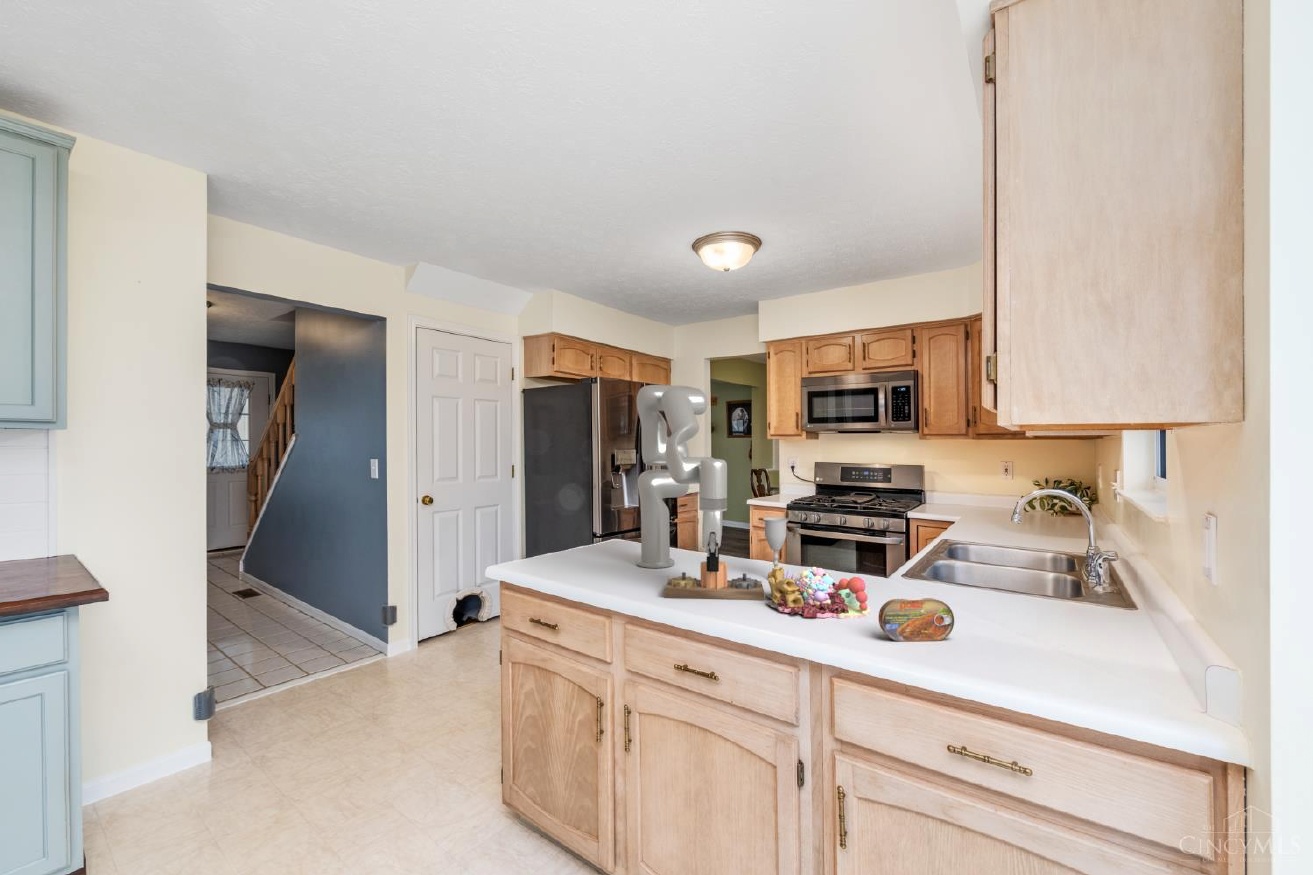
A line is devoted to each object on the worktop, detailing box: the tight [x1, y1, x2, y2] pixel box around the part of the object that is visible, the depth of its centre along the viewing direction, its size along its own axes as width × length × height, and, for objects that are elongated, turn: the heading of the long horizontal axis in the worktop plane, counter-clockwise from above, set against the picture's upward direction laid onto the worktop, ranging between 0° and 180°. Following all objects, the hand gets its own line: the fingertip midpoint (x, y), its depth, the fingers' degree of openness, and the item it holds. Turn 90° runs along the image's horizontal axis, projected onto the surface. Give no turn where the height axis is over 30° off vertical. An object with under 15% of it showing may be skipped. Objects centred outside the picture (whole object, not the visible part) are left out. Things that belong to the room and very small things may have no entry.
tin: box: [877, 597, 955, 643], centre depth 118 cm, size 15×3×8 cm, turn 91°
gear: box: [700, 560, 728, 589], centre depth 155 cm, size 7×7×6 cm
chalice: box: [762, 516, 789, 581], centre depth 168 cm, size 7×7×18 cm
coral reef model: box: [766, 566, 872, 620], centre depth 143 cm, size 25×24×9 cm
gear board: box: [663, 572, 765, 601], centre depth 155 cm, size 12×26×5 cm, turn 83°
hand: (712, 566), depth 155 cm, fingers open, 9 cm apart
